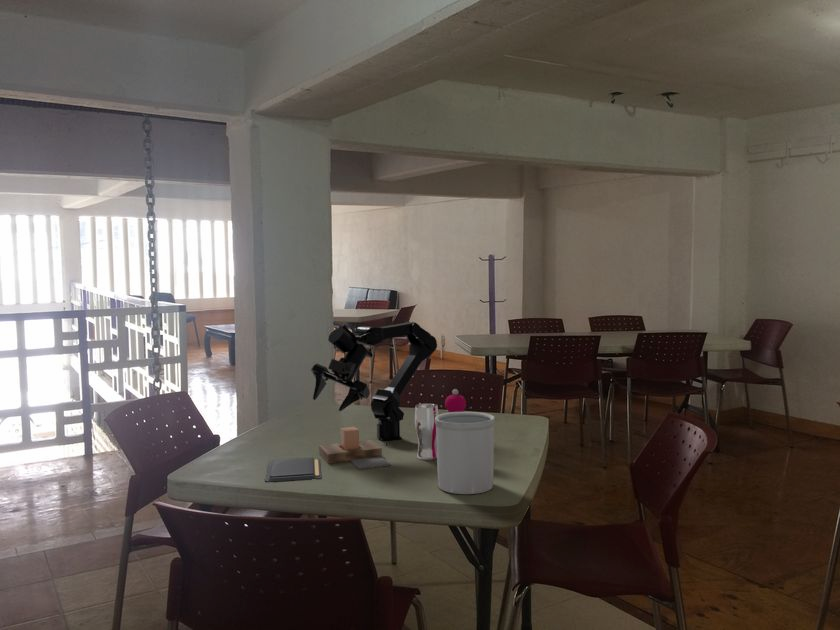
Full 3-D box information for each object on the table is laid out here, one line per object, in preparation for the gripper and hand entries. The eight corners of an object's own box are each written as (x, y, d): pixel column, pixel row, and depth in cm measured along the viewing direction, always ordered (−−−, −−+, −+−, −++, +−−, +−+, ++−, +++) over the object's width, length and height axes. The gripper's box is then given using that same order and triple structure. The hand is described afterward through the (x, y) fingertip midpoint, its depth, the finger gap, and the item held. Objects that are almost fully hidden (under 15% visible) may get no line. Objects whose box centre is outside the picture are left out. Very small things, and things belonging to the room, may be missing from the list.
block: (355, 453, 207) (354, 426, 207) (359, 456, 203) (358, 429, 203) (341, 454, 206) (340, 428, 205) (344, 458, 202) (344, 431, 201)
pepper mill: (451, 463, 194) (450, 392, 193) (439, 457, 201) (437, 388, 199) (473, 459, 197) (472, 389, 196) (460, 453, 204) (459, 386, 202)
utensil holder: (444, 475, 183) (443, 409, 182) (500, 479, 179) (499, 411, 177) (428, 493, 169) (427, 421, 168) (489, 497, 165) (488, 424, 163)
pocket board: (371, 448, 212) (370, 439, 212) (381, 457, 202) (381, 448, 202) (319, 454, 207) (319, 445, 207) (327, 463, 196) (327, 454, 196)
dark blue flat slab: (268, 457, 199) (322, 454, 201) (268, 464, 200) (322, 461, 202) (262, 478, 180) (321, 474, 182) (262, 485, 180) (321, 481, 182)
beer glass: (442, 454, 203) (441, 403, 202) (435, 461, 197) (434, 408, 196) (419, 453, 206) (418, 402, 205) (411, 459, 199) (410, 407, 198)
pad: (380, 457, 201) (380, 456, 201) (390, 465, 193) (390, 464, 193) (350, 461, 198) (350, 459, 198) (359, 469, 190) (359, 468, 190)
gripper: (319, 338, 209) (292, 382, 203) (372, 360, 203) (346, 405, 196) (329, 355, 219) (303, 398, 213) (380, 376, 212) (355, 420, 206)
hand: (326, 405), depth 207 cm, fingers open, 9 cm apart
